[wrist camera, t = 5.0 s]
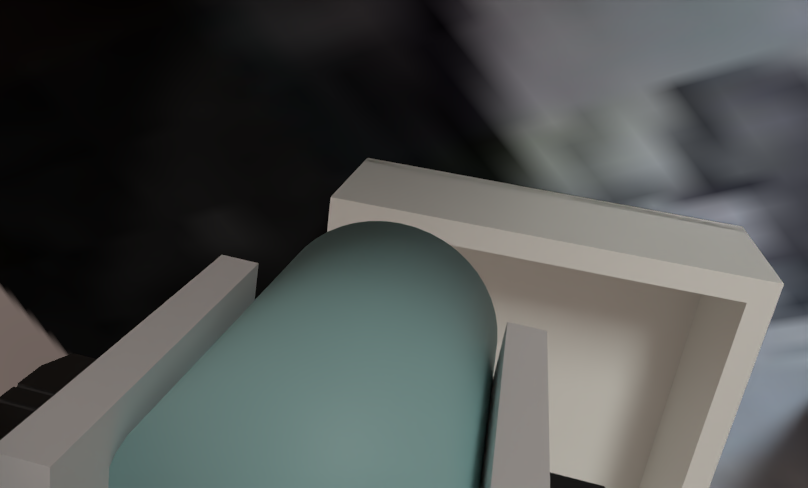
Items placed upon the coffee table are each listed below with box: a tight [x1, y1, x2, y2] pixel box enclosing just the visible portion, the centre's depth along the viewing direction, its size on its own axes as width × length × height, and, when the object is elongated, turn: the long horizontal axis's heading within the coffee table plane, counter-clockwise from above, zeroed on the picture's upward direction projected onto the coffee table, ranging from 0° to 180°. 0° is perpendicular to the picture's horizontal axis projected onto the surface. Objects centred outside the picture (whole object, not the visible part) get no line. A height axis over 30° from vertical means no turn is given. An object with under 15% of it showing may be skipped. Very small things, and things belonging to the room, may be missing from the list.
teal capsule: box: [108, 221, 497, 488], centre depth 13 cm, size 5×5×7 cm
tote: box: [327, 158, 784, 488], centre depth 28 cm, size 18×14×5 cm
